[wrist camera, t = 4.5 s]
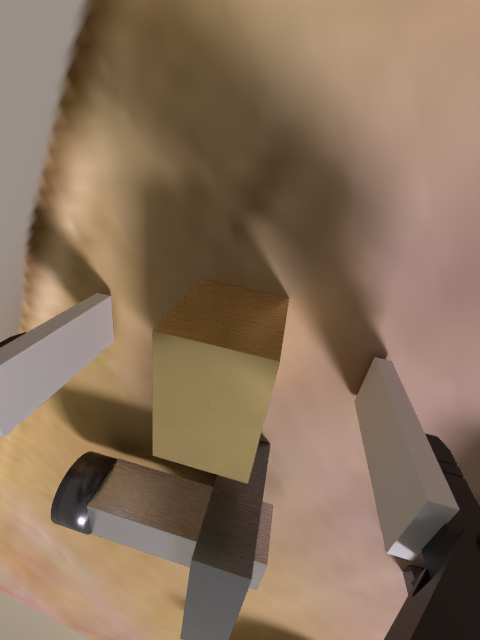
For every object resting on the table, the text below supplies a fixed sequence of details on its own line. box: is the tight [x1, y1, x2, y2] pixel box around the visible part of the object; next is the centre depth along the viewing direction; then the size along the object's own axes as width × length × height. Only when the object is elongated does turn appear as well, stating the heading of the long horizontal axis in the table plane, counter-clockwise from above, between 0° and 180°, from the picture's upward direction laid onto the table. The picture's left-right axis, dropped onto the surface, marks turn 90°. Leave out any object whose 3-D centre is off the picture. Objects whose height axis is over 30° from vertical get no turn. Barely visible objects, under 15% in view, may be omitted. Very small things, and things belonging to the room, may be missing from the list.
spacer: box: [153, 280, 289, 484], centre depth 12 cm, size 4×6×5 cm, turn 171°
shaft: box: [51, 451, 273, 590], centre depth 17 cm, size 12×4×4 cm, turn 81°
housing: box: [180, 441, 424, 640], centre depth 16 cm, size 18×9×7 cm, turn 81°
